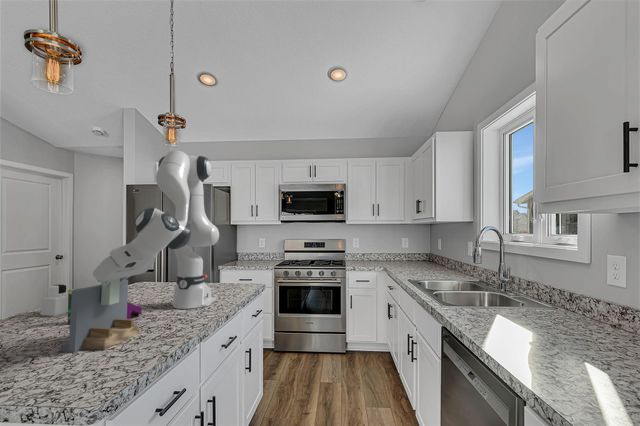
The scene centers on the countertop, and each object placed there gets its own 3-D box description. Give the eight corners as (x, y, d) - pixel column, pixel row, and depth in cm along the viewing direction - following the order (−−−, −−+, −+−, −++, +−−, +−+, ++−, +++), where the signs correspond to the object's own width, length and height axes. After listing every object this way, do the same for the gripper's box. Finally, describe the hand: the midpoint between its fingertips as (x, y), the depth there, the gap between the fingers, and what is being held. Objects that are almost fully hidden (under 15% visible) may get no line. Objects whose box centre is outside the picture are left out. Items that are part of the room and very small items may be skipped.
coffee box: (66, 325, 115) (68, 290, 115) (66, 323, 117) (68, 288, 118) (92, 321, 119) (94, 287, 120) (93, 319, 122) (94, 286, 122)
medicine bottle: (56, 310, 134) (58, 283, 134) (71, 311, 133) (72, 283, 133) (39, 315, 127) (41, 286, 127) (54, 316, 126) (56, 287, 126)
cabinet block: (111, 301, 103) (112, 271, 103) (119, 302, 102) (120, 272, 103) (100, 304, 99) (102, 273, 99) (109, 305, 98) (110, 273, 99)
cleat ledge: (119, 332, 107) (120, 317, 107) (137, 334, 106) (138, 318, 106) (83, 348, 93) (84, 330, 93) (104, 349, 92) (105, 331, 92)
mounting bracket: (118, 330, 127) (89, 323, 111) (124, 309, 131) (98, 300, 115) (140, 330, 127) (115, 323, 111) (146, 309, 131) (123, 300, 115)
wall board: (113, 329, 111) (115, 279, 112) (126, 330, 110) (128, 279, 111) (59, 351, 91) (63, 290, 92) (74, 352, 90) (77, 291, 91)
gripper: (154, 246, 111) (128, 272, 111) (107, 249, 90) (76, 282, 91) (164, 258, 110) (139, 285, 111) (120, 265, 90) (89, 297, 90)
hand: (110, 283), depth 101 cm, fingers closed on cabinet block, 4 cm apart
